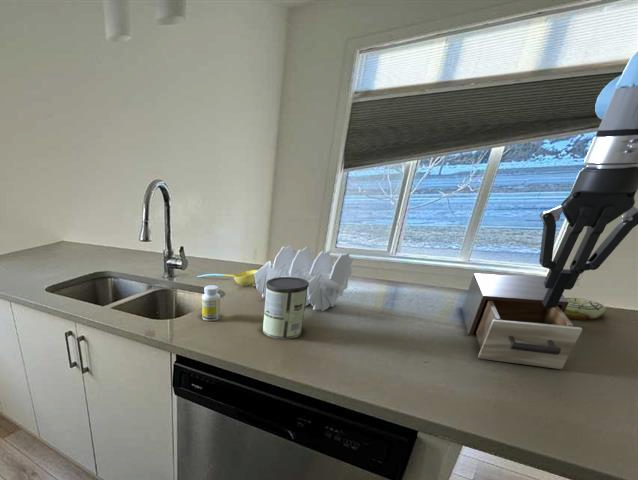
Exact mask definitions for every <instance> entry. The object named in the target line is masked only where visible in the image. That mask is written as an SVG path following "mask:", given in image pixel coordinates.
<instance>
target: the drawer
mask: <svg viewBox="0 0 638 480" xmlns="http://www.w3.org/2000/svg"><path fill="white" fill-rule="evenodd" d="M582 331H583V328H582V327H581V326H574V324H573V323H572V322H571V320H570V319H569V318H567V317H566V315H565V314H564V313H563V312H562V310H561V309H560V308H559V306H558V305H557V306H556V308H552V307H545V306H544V305H543V304H540V303H527V302H514V301H500V300H487V299H486V301H485V304H484V306H483V309H482V312H481V314H480V317H479V320H478V322H477V325H476V327H475V332H476V335H477V336H476V338H477V341H478V346H479V348H480V350H479V353H478V354H477V358H478V359H482V360H488V361H496V362H504V363H511V364H519V365H520V364H521V365H527V366H535V367H542V368H550V369H556V370H557V369H558V370H562V369H563V368H564V366H565V364H566V362H567V360H568V358H569V356H570V355H571V353H572V351H573V349H574V347H575V345H576V343H577V341H578V339H579V337H580V336H581V334H582Z"/></svg>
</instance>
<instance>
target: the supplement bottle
mask: <svg viewBox="0 0 638 480" xmlns="http://www.w3.org/2000/svg"><path fill="white" fill-rule="evenodd" d="M203 289H204V291H203V292H204V293H203V294H202V296H201V319H202V320H204V321H207V322H214V321H215V322H216V321H218V320H219V319H220V317H221V294H220V293H218V292H219V287H218V285H214V284H213V285H212V284H211V285H206V286H204V288H203Z"/></svg>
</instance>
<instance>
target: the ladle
mask: <svg viewBox="0 0 638 480" xmlns="http://www.w3.org/2000/svg"><path fill="white" fill-rule="evenodd" d="M258 270H259V269H250V270H246V271H243V272H239V273H236V274H227V273H206V274H201V275H197V278H205V277H233V278H234V281H235V282H236V284H238V285H240V286H242V287H249V286H251V285H253V284H255V277H254V273H255V272H256V271H258Z"/></svg>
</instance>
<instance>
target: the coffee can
mask: <svg viewBox="0 0 638 480" xmlns="http://www.w3.org/2000/svg"><path fill="white" fill-rule="evenodd" d="M266 286H267V287H266V297H264V298H265V300H264V312H263V324H262V333H264V334H265V335H266V336H268V337H271V338H274V339H293V338H297V337H299V336H301V335H302V332H303V331H302V330H303V324H304V316H305V309H306V306H305V303H306V296H307V289H308V286H309V282H308V281H306V280H304V279H300V278H294V277H280V278H274V279H270V280H268V281H267V282H266Z"/></svg>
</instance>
